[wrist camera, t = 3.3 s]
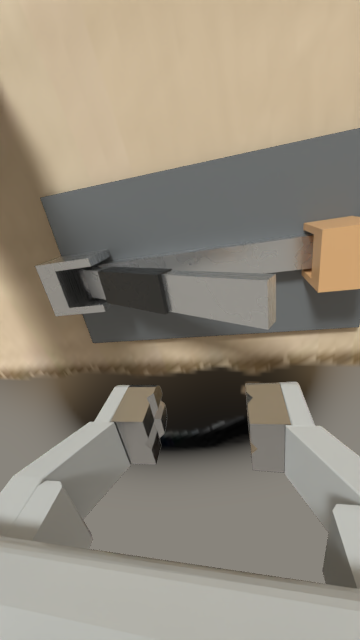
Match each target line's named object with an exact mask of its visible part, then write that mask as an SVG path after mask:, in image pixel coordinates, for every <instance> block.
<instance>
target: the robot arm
mask: <svg viewBox="0 0 360 640" xmlns="http://www.w3.org/2000/svg"><path fill="white" fill-rule="evenodd" d="M245 385H246V399H247V413H248V426H249V436H250V447H251V458H252V467H253V470H256V471H267V472H280V473H285V476H286V477H287V478H288V480H289V481H290V482H291V484H292V485H293V486H294V488H295V489H296V490H297V492H298V493H299V494H300V495H301V497H302V498H303V499H304V501H305V502H306V504H307V505H308V506H309V507H310V509H311V510H312V511H313V513H314V514H315V515H316V517H317V518H318V519H319V521H320V522H321V523H322V525H323V526H324V527H325V529H326V530H327V531H328V533H329V534H328V540H327V546H326V552H325V558H324V565H323V575H324V579H325V583H326V584H323V583H316V582H309V581H303V580H296V579H289V578H282V577H276V576H269V575H262V574H255V573H248V572H242V571H234V570H228V569H221V568H215V567H208V566H201V565H194V564H187V563H180V562H174V561H166V560H160V559H153V558H147V557H140V556H133V555H126V554H120V553H113V552H106V551H98V550H92V549H90V546H91V543H92V540H93V538H92V534H91V532H90V530H89V529H88V527H87V526H86V524H85V522H84V521H83V519H84V518H85V517H86V516H87V515H88V514H89V513H90V511H91V510H92V509H93V508H94V507H95V506H96V504H97V503H98V502H99V501H100V500H101V499H102V498H103V497H104V495H105V494H106V493H107V492H108V491H109V489H110V488H111V487H112V486H113V485H114V484H115V483H116V482H117V481H118V479H119V478H120V477H121V476H122V475H123V474H124V473H125V471H126V470H127V469H128V468H129V467H130V464H150V465H156V463H157V460H158V456H159V452H160V448H161V442H160V437H161V436H162V435H163V434H164V433H165V429H166V423H167V411H166V406H165V404H164V403H163V402H162V401H161V398H162V391H161V388H160V386H158V385H117V386H116V387H115V388H114V389H113V391H112V392H111V394H110V396H109V397H108V399H107V401H106V402H105V404H104V406H103V407H102V409H101V411H100V412H99V414H98V416H97V417H96V419H95V421H94V422H89V423H87V424H86V425H85V426H83V427H82V428H80V429H79V430H78V431H76V432H75V433H73V434H72V435H70V436H69V437H68V438H66V439H65V440H63V441H62V442H61V443H59V444H58V445H56V446H55V447H53V448H52V449H51V450H49V451H48V452H47V453H45V454H44V455H42V456H41V457H40V458H38V459H37V460H35V461H34V462H32V463H31V464H29V465H28V466H27V467H25V468H24V469H22V470H21V471H20V472H18V473H17V474H16V475H14V476H13V477H12V478H11V480H10V481H9V482H8V484H7V485H6V486H5V488H4V489H3V490H2V492H1V493H0V640H360V456H358V455H357V454H356V453H354V452H353V451H352V450H351V449H350V448H348V447H347V446H346V445H345V444H343V443H342V442H341V441H340V440H338V439H337V438H336V437H334V436H333V435H332V434H331V433H329V432H328V431H327V430H326V429H324V428H323V427H322V426H315V424H314V422H313V419H312V416H311V414H310V412H309V409H308V406H307V404H306V401H305V399H304V396H303V393H302V391H301V388H300V386H299V384H298V383H297V382H280V383H249V384H245Z"/></svg>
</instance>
